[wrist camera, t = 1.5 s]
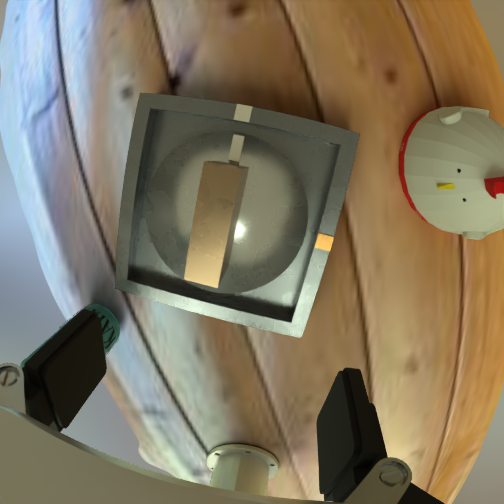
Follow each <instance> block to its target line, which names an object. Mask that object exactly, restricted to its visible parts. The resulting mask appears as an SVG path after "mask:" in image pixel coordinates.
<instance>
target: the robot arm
mask: <svg viewBox="0 0 504 504" xmlns="http://www.w3.org/2000/svg"><path fill="white" fill-rule="evenodd" d="M24 365H25V366H24V367H23V368H22V369H21V367H19V366H18V365H16V364H13V363H4V364H1V365H0V504H444V503H443V502H441V501H439V500H438V499H436V498H435V497H433V496H431V495H430V494H428V493H427V492H425V491H423V490H422V489H420V488H419V487H417V486H416V485H414V484H413V483H411V480H412V472H411V469H410V468H409V466H408V465H407V464H406V463H405V462H403V461H402V460H400V459H397V458H392V457H390V458H388V457H387V452H386V448H385V444H384V440H383V436H382V432H381V428H380V424H379V420H378V416H377V412H376V408H375V406H374V404H372V403H369V400H368V396H367V392H366V389H365V385H364V381H363V377H362V374H361V371H360V369H354V368H344V370H343V371H339V372H338V374H337V376H336V378H335V381H334V383H333V385H332V387H331V390H330V392H329V394H328V396H327V398H326V401H325V403H324V405H323V407H322V409H321V411H320V413H319V415H318V418H317V442H318V462H319V490H320V494H324V501H314V500H299V499H288V498H279V497H271V496H267V490H268V480H269V479H271V478H273V477H274V476H275V475H276V474H277V472H278V467H279V464H278V461H277V459H276V458H275V457H274V456H273V455H272V454H270V453H269V452H267V451H265V450H263V449H260V448H257V447H254V446H249V445H242V444H229V445H223V446H219V447H216V448H214V449H212V450H211V451H210V452H209V454H208V456H207V460H206V463H207V466H208V468H209V469H210V470H211V471H212V476H211V480H210V484H209V486H206V485H202V484H198V483H194V482H190V481H186V480H182V479H178V478H175V477H171V476H168V475H164V474H161V473H158V472H155V471H152V470H149V469H145V468H143V467H140V466H137V465H134V464H131V463H129V462H126V461H123V460H121V459H118V458H115V457H113V456H110V455H108V454H105V453H103V452H100V451H98V450H96V449H94V448H91V447H89V446H87V445H85V444H82V443H80V442H78V441H76V440H74V439H72V438H70V437H68V436H66V435H64V434H62V433H60V432H61V431H62V429H63V428H67V427H68V426H69V424H70V423H71V422H72V420H73V419H74V417H75V416H76V414H77V413H78V411H79V410H80V409H81V407H82V406H83V404H84V403H85V402H86V400H87V399H88V397H89V396H90V395H91V393H92V391H93V390H94V389H95V388H96V386H97V385H98V383H99V382H100V381H101V379H102V378H103V377H104V375H105V373H106V369H107V366H106V359H105V351H104V343H103V334H102V324H101V318H100V317H98V314H97V313H96V312H93V311H90V310H87V309H83V310H81V311H80V312H79V313H78V314H77V315H76V316H75V317H73V318H72V319H71V320H70V321H69V322H68V323H67V324H66V325H65V326H64V327H62V328H61V329H60V330H59V331H58V332H57V333H56V334H55V335H54V336H53V337H52V338H51V339H49V340H48V341H47V342H46V343H45V344H44V345H43V346H42V347H41V348H40V349H39V350H38V351H37V352H36V353H35V354H34V355H33V356H32V357H31V358H30V359H29V360H28V361H26V362H25V363H24ZM326 501H333V502H326Z"/></svg>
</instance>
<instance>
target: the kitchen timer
mask: <svg viewBox="0 0 504 504" xmlns="http://www.w3.org/2000/svg"><path fill="white" fill-rule="evenodd" d="M399 176H400V180H401V184H402V188H403V192H404V194H405V196H406V198H407V200H408V202H409V204H410V206H411V207H412V209H413V210H414V211H415V212H416V213H417V214H418V215H419V216H420V217H421V218H422V219H423V220H424V221H426V222H428V223H429V224H431V225H433V226H434V227H436V228H438V229H440V230H443V231H447V232H452V233H457V234H462V236H463V237H464V238H469V239H484V237H485V236H486V235H488V234H491V233H493V232H496V231H498V230H501V229H503V228H504V128H503V127H502V126H501V125H500V124H499V123H497V122H496V121H495V120H493V119H491V118H489V111H488V110H485V109H479V108H470V107H462V106H453V107H441V108H437V109H434V110H432V111H429V112H426V113H424V114H422V115H421V116H420V117H419V118H418V119H416V120H415V121H414V122H413V123H412V124H411V126H410V127H409V129H408V131H407V132H406V134H405V136H404V138H403V141H402V145H401V149H400V153H399Z"/></svg>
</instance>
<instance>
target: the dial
mask: <svg viewBox="0 0 504 504" xmlns="http://www.w3.org/2000/svg"><path fill="white" fill-rule="evenodd" d="M146 222H147V228H148V232H149V235H150V238H151V241H152V243H153V245H154V247H155V249H156V251H157V253H158V254H159V256H160V257H161V259H162V260H163V261H164V263H165V264H166V265H167V266H168V267H169V268H170V269H171V270H172V271H173V272H174V273H175V274H176V275H178V276H179V277H180V278H181V279H183V280H185V281H186V282H188V283H190V284H192V285H194V286H196V287H198V288H201V289H204V290H207V291H211V292H216V293H227V294H230V293H242V292H247V291H251V290H254V289H257V288H260V287H262V286H264V285H266V284H268V283H270V282H271V281H273V280H274V279H276V278H277V277H278V276H280V275H281V274H282V273H283V272H284V271H285V270H286V269H287V268H288V267H289V266H290V265H291V263H292V262H293V260H294V259H295V258H296V256H297V254H298V252H299V250H300V249H301V247H302V244H303V241H304V238H305V235H306V230H307V225H308V205H307V199H306V194H305V190H304V188H303V185H302V182H301V180H300V178H299V176H298V174H297V172H296V171H295V169H294V168H293V166H292V165H291V164H290V162H289V161H288V160H287V159H286V158H285V157H284V156H283V155H282V154H281V153H280V152H279V151H278V150H277V149H275V148H274V147H273V146H271V145H270V144H268V143H266V142H265V141H263V140H261V139H259V138H256V137H254V136H252V135H248V134H244V133H240V132H233V131H216V132H210V133H205V134H202V135H198V136H196V137H193V138H191V139H189V140H187V141H185V142H184V143H182V144H180V145H179V146H177V147H176V148H175V149H174V150H173V151H171V152H170V153H169V154H168V155H167V156H166V158H165V159H164V160H163V161H162V162H161V164H160V165H159V167H158V168H157V170H156V172H155V174H154V176H153V178H152V180H151V183H150V186H149V188H148V193H147V198H146Z"/></svg>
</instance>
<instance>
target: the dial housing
mask: <svg viewBox="0 0 504 504" xmlns="http://www.w3.org/2000/svg"><path fill="white" fill-rule="evenodd" d="M216 131H233V132H240V133H244V134H248V135H252V136H254V137H256V138H259V139H261V140H263V141H265V142H266V143H268V144H270V145H271V146H273V147H274V148H275V149H277V150H278V151H279V152H280V153H281V154H282V155H283V156H284V157H285V158H286V159H287V160H288V161H289V162H290V164H291V165H292V166H293V168H294V169H295V171H296V172H297V174H298V176H299V178H300V180H301V182H302V185H303V188H304V190H305V194H306V199H307V205H308V225H307V230H306V235H305V238H304V241H303V244H302V247H301V249H300V250H299V252H298V254H297V256H296V258H295V259H294V260H293V262H292V263H291V265H290V266H289V267H288V268H287V269H286V270H285V271H284V272H283V273H282V274H281V275H280V276H278V277H277V278H276V279H274V280H273V281H271V282H270V283H268V284H266V285H264V286H262V287H260V288H257V289H254V290H251V291H247V292H242V293H230V294H227V293H216V292H211V291H207V290H204V289H201V288H198V287H196V286H194V285H192V284H190V283H188V282H186V281H185V280H183V279H181V278H180V277H179V276H178V275H176V274H175V273H174V272H173V271H172V270H171V269H170V268H169V267H168V266H167V265H166V264H165V263H164V261H163V260H162V259H161V257H160V256H159V254H158V253H157V251H156V249H155V247H154V245H153V243H152V241H151V238H150V235H149V232H148V228H147V222H146V198H147V193H148V188H149V186H150V183H151V180H152V178H153V176H154V174H155V172H156V170H157V168H158V167H159V165H160V164H161V162H162V161H163V160H164V159H165V158H166V156H167V155H168V154H169V153H170V152H171V151H173V150H174V149H175V148H176V147H177V146H179V145H180V144H182V143H184V142H185V141H187V140H189V139H191V138H193V137H196V136H198V135H202V134H205V133H210V132H216ZM359 136H360V134H359V133H356V132H353V131H349V130H346V129H343V128H339V127H336V126H332V125H329V124H325V123H321V122H317V121H314V120H310V119H306V118H302V117H297V116H293V115H289V114H285V113H280V112H275V111H271V110H266V109H261V108H256V107H252V106H247V105H241V104H233V103H227V102H221V101H214V100H207V99H200V98H192V97H183V96H174V95H163V94H151V93H140V96H139V100H138V104H137V109H136V114H135V119H134V123H133V129H132V134H131V139H130V145H129V151H128V157H127V163H126V169H125V176H124V184H123V191H122V200H121V208H120V218H119V229H118V241H117V256H116V276H115V289H118V290H121V291H124V292H127V293H131V294H134V295H137V296H140V297H144V298H147V299H150V300H153V301H157V302H160V303H164V304H167V305H170V306H174V307H177V308H181V309H185V310H188V311H192V312H195V313H199V314H203V315H207V316H210V317H214V318H218V319H222V320H226V321H230V322H234V323H238V324H242V325H246V326H250V327H254V328H259V329H263V330H267V331H272V332H276V333H281V334H285V335H290V336H295V337H299V338H301V337H302V334H303V331H304V328H305V326H306V323H307V320H308V317H309V314H310V311H311V308H312V305H313V302H314V299H315V296H316V293H317V290H318V287H319V283H320V280H321V277H322V274H323V271H324V268H325V264H326V261H327V258H328V254H329V251H330V249H331V246H332V242H333V239H334V234H335V230H336V227H337V223H338V220H339V216H340V213H341V209H342V205H343V201H344V198H345V194H346V190H347V186H348V182H349V178H350V174H351V170H352V166H353V162H354V158H355V154H356V149H357V145H358V140H359Z"/></svg>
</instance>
